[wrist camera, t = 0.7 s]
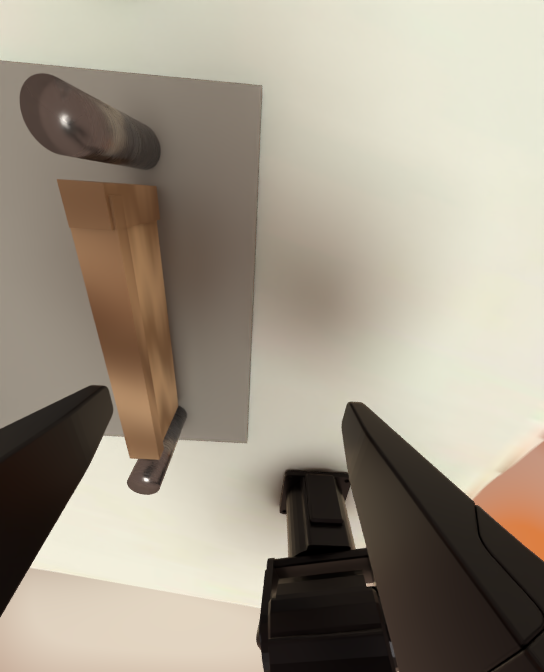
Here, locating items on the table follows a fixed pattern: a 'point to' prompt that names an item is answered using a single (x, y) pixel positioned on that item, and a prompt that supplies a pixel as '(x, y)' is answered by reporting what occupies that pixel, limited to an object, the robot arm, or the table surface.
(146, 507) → the table surface
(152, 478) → the gate posts
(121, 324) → the gate
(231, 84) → the mat
